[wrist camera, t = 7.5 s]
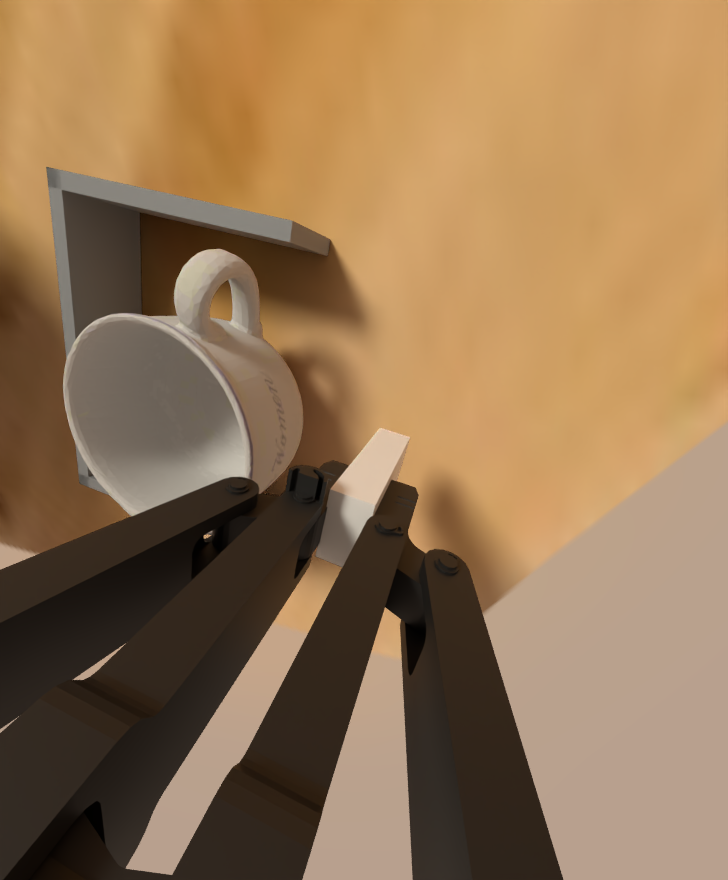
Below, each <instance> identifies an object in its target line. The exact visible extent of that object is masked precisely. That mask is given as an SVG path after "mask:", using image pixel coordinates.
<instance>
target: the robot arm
mask: <svg viewBox="0 0 728 880" xmlns="http://www.w3.org/2000/svg"><path fill="white" fill-rule="evenodd" d="M409 439H410V437H408V436H404V435H401V434H398V433H395V432H392V431H389V430H386V429H383V428H379V430H378V431H377V432H376V433H375V434H374V436H373V437H372V438H371V439H370V441H369V442H368V443H367V444H366V446H365V447H364V448H363V449H362V451H361V452H360V453H359V454H358V455H357V457H356V458H355V459H354V460H353V462H352V463H351V464H350V465H349V466H348V465H345V464H342V463H339V462H337V461H334V460H333V461H330V462H327V463H324V464H323V465H322V466H321V467H320V468H319V469H318V468H316V467H312V466H304V465H300V466H294V467H292V468H290V469H289V473H288V479H287V485H286V491H285V492H284V493H283V494H282V495H281V496H271V495H264V494H259V486H258V484H257V483H256V482H255V481H253V480H251V479H248V478H245V477H229V478H225V479H222V480H220V481H217V482H215V483H212V484H210V485H207V486H205V487H202V488H200V489H198V490H195V491H193V492H190V493H188V494H185V495H183V496H180V497H178V498H175V499H173V500H171V501H168V502H166V503H163V504H161V505H158V506H156V507H153V508H151V509H148V510H146V511H144V512H141V513H139V514H136V515H134V516H131V517H129V518H126V519H124V520H121V521H119V522H117V523H114V524H112V525H109V526H107V527H104V528H102V529H99V530H97V531H94V532H92V533H90V534H87V535H85V536H82V537H80V538H77V539H75V540H72V541H70V542H67V543H65V544H63V545H60V546H58V547H55V548H53V549H50V550H48V551H45V552H43V553H40V554H38V555H35V556H33V557H31V558H28V559H26V560H23V561H21V562H19V563H16V564H13V565H11V566H9V567H6V568H4V569H1V570H0V729H1V728H2V727H4V726H5V725H7V724H8V723H10V722H11V721H13V720H14V719H16V718H17V717H18V716H19V717H18V718H17V719H16V720H15V721H14V722H12V723H11V724H10V725H9V726H8V727H7V728H6V729H5V730H4V731H2V732H1V733H0V880H302V879H303V875H304V872H305V869H306V865H307V862H308V859H309V856H310V852H311V849H312V846H313V842H314V839H315V836H316V832H317V829H318V826H319V822H320V819H321V815H322V811H323V807H324V804H325V800H326V797H327V794H328V790H329V787H330V784H331V781H332V777H333V774H334V771H335V768H336V764H337V761H338V758H339V755H340V751H341V748H342V745H343V741H344V738H345V734H346V731H347V729H348V725H349V722H350V719H351V715H352V712H353V709H354V706H355V702H356V699H357V696H358V693H359V690H360V686H361V683H362V680H363V676H364V673H365V670H366V666H367V663H368V660H369V657H370V654H371V650H372V647H373V644H374V641H375V637H376V634H377V631H378V628H379V624H380V621H381V618H382V615H383V611H384V608H385V607H386V608H387V609H388V610H390V611H391V612H392V613H394V614H395V615H396V616H398V617H399V618H400V619H401V623H400V632H401V652H402V671H403V692H404V712H405V732H406V753H407V773H408V792H409V813H410V833H411V853H412V873H413V880H563V877H562V874H561V871H560V867H559V864H558V861H557V858H556V854H555V851H554V848H553V844H552V841H551V838H550V835H549V831H548V828H547V824H546V821H545V818H544V815H543V811H542V808H541V805H540V802H539V798H538V795H537V792H536V788H535V785H534V782H533V778H532V775H531V772H530V769H529V766H528V762H527V759H526V756H525V752H524V749H523V746H522V742H521V739H520V736H519V732H518V729H517V726H516V723H515V719H514V716H513V713H512V710H511V706H510V703H509V700H508V696H507V693H506V690H505V687H504V683H503V680H502V677H501V673H500V670H499V667H498V663H497V660H496V657H495V654H494V650H493V647H492V644H491V640H490V637H489V634H488V630H487V627H486V624H485V621H484V617H483V614H482V611H481V607H480V604H479V601H478V598H477V594H476V591H475V588H474V584H473V581H472V578H471V575H470V571H469V569H468V567H467V565H466V563H465V562H464V561H463V560H462V559H460V558H459V557H458V556H456V555H455V554H453V553H451V552H448V551H445V550H439V549H434V550H430V551H428V552H427V553H424V552H423V551H421V550H420V549H418V548H417V547H416V546H415V545H414V544H413V543H412V542H411V540H410V539H409V536H408V529H409V525H410V522H411V519H412V516H413V512H414V509H415V506H416V502H417V499H418V496H419V495H418V493H417V490H416V488H415V487H412V486H409V485H406V484H403V483H400V482H397V479H398V476H399V473H400V469H401V466H402V463H403V459H404V456H405V453H406V449H407V446H408V443H409ZM211 531H212V536H210V537H208V538H206V539H204V535H205V534H207V533H209V532H211ZM317 546H318V547H317ZM316 547H317V551H316V556H315V557H318V558H320V559H323V560H325V561H328V562H331V563H333V564H336V565H338V566H341V567H342V569H341V571H340V573H339V575H338V577H337V579H336V581H335V583H334V585H333V587H332V589H331V590H330V592H329V594H328V596H327V598H326V600H325V602H324V604H323V606H322V608H321V610H320V612H319V613H318V615H317V617H316V619H315V621H314V623H313V625H312V627H311V629H310V631H309V633H308V635H307V637H306V638H305V640H304V643H303V645H302V646H301V648H300V650H299V652H298V654H297V656H296V658H295V660H294V662H293V663H292V666H291V667H290V669H289V671H288V673H287V675H286V677H285V679H284V681H283V683H282V685H281V687H280V688H279V691H278V692H277V694H276V696H275V698H274V700H273V702H272V704H271V706H270V708H269V710H268V712H267V713H266V715H265V717H264V719H263V721H262V723H261V725H260V727H259V729H258V731H257V733H256V735H255V737H254V739H253V740H252V742H251V744H250V746H249V748H248V750H247V752H246V754H245V755H244V757H243V758H242V760H241V761H240V763H238V764H237V765H235V766H234V767H233V768H232V769H231V770H230V772H229V773H228V775H227V776H226V778H225V779H224V781H223V783H222V784H221V787H220V788H219V790H218V791H217V793H216V795H215V797H214V798H213V801H212V802H211V804H210V806H209V808H208V810H207V811H206V813H205V815H204V817H203V819H202V821H201V823H200V825H199V827H198V828H197V830H196V832H195V834H194V836H193V837H192V839H191V841H190V843H189V845H188V847H187V849H186V850H185V853H184V854H183V856H182V858H181V860H180V862H179V863H178V865H177V867H176V869H175V871H174V873H173V875H166V874H160V873H152V872H145V871H137V870H130V869H125V868H126V866H127V864H128V863H129V861H130V859H131V857H132V856H133V854H134V852H135V850H136V849H137V847H138V845H139V843H140V841H141V839H142V837H143V835H144V833H145V831H146V828H147V826H148V823H149V821H150V818H151V816H152V813H153V811H154V809H155V807H156V805H157V803H158V801H159V799H160V798H161V796H162V794H163V792H164V791H165V789H166V788H167V786H168V785H169V783H170V782H171V780H172V778H173V777H174V775H175V774H176V772H177V771H178V769H179V767H180V766H181V764H182V763H183V761H184V760H185V758H186V757H187V755H188V754H189V752H190V750H191V749H192V747H193V746H194V744H195V743H196V741H197V739H198V738H199V736H200V735H201V733H202V732H203V730H204V729H205V727H206V726H207V724H208V722H209V721H210V719H211V718H212V716H213V715H214V713H215V712H216V710H217V708H218V707H219V705H220V704H221V702H222V701H223V699H224V698H225V696H226V695H227V693H228V691H229V690H230V688H231V686H232V685H233V684H234V682H235V681H236V679H237V677H238V676H239V674H240V673H241V671H242V669H243V668H244V667H245V665H246V663H247V662H248V660H249V659H250V657H251V656H252V654H253V653H254V651H255V649H256V648H257V646H258V645H259V643H260V642H261V640H262V638H263V637H264V635H265V634H266V632H267V631H268V629H269V628H270V626H271V625H272V623H273V622H274V620H275V618H276V617H277V615H278V614H279V612H280V611H281V609H282V608H283V606H284V604H285V603H286V601H287V600H288V598H289V597H290V595H291V594H292V592H293V590H294V589H295V587H296V586H297V584H298V583H299V581H300V580H301V578H302V576H303V575H304V573H305V572H306V570H307V569H308V567H309V565H310V562H311V557H312V553H313V552H314V550H315V549H316ZM125 643H126V644H125ZM124 644H125V645H124ZM122 645H124V646H123V647H122V648H121V649H120V650H119V651H118V652H117V653H116V654H115V655H114V656H113V657H111V659H109V660H108V661H107V662H106V663H105V664H104V665H103V666H102V667H101V668H100V669H99V670H98V671H97V672H95V673H94V674H93V675H92V676H91V677H89V678H87V679H84V680H73V679H74V678H75V677H77V676H78V675H80V674H81V673H83V672H84V671H86V670H87V669H89V668H90V667H91V666H93V665H95V664H96V663H97V662H99V661H100V660H102V659H103V658H105V657H106V656H108V655H109V654H111V653H112V652H113V651H115V650H116V649H118V648H119V647H120V646H122Z"/></svg>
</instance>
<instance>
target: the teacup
mask: <svg viewBox="0 0 728 880" xmlns="http://www.w3.org/2000/svg"><path fill="white" fill-rule="evenodd" d="M227 280H229V283H230V287H231V293H232V306H233V311H232V320H231V321H227V320H222V319H217V318H210V315H209V311H210V306H211V301H212V299H213V297H214V294H215V293H216V291H217V290H218V288H219V287H220V286H221V285H222V284H223V283H224V282H226V281H227ZM174 304H175V308H176V313H177V316H146V315H140V314H133V313H118V314H111V315H108V316H105V317H102V318H100V319H97V320H95V321H94V322H92V323H91V324H90V325H88V326H87V327H86V328H85V329H84V330H83V331H82V332H81V333H80V335H79V336H78V337H77V339H76V340H75V342H74V344H73V345H72V348H71V351H70V352H69V354H68V356H67V360H66V364H65V369H64V378H63V394H64V403H65V410H66V413H67V419H68V423H69V427H70V430H71V433H72V435H73V438H74V441H75V443H76V445H77V448H78V450H79V452H80V454H81V456H82V458H83V460H84V461H85V463H86V464H87V466H88V468H89V470H90V471H91V472H92V474H93V475H94V477H95V478H96V479H97V481H98V482H99V484H100V485H101V486H102V487H103V488H104V489H105V490H106V491H107V492H108V494H109V495H110V496H111V497H112V498H113V499H114V500H115V501H116V502H117V503H119V504H120V506H121V507H122V508H123V509H124V510H125V511H126V512H127V513H128V514H129V515H131V516H134V515H136V514H139V513H141V512H144V511H146V510H148V509H151V508H153V507H156V506H158V505H161V504H163V503H166V502H168V501H171V500H173V499H175V498H178V497H180V496H183V495H185V494H188V493H190V492H193V491H195V490H198V489H200V488H202V487H205V486H207V485H210V484H212V483H215V482H217V481H220V480H222V479H225V478H229V477H245V478H248V479H251V480H253V481H255V482H256V483H257V484H258V486H259V494H261V493H262V492H263V491H264V490H265V489H267V488H268V487H269V486H270V485H271V484H272V483H273V482H274V481H275V480H276V479H277V478H278V477H279V476H280V475H281V474H282V473H283V472H284V471H285V470H286V468H287V467H288V466H289V464H290V463H291V461H292V459H293V458H294V456H295V454H296V451H297V449H298V447H299V444H300V440H301V436H302V430H303V406H302V400H301V395H300V392H299V389H298V386H297V383H296V381H295V378H294V376H293V374H292V372H291V371H290V369H289V367H288V366H287V364H286V362H285V361H284V359H283V358H282V357H281V356H280V354H279V353H278V352H277V351H276V350H275V349H274V348H273V347H272V346H271V345H270V344H269V343H268V342H267V341H266V340H264V339H263V336H262V333H263V329H262V324H261V323H260V321H259V319H260V299H259V288H258V283H257V279H256V277H255V275H254V272H253V271H252V269H251V267H250V266H249V265H248V264H247V263H246V262H245V261H244V260H242V259H241V258H239V257H238V256H236V255H234V254H232V253H229V252H227V251H225V250H222V249H208V250H204V251H202V252H199V253H197V254H196V255H195V256H193V257H192V258H191V259H190V260H189V261H188V262H187V263H186V264H185V265H184V266H183V268H182V270H181V272H180V274H179V276H178V278H177V281H176V285H175V290H174ZM209 533H212V531H211V532H209ZM209 533H207V534H209ZM205 535H206V534H205Z"/></svg>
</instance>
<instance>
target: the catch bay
mask: <svg viewBox="0 0 728 880" xmlns="http://www.w3.org/2000/svg"><path fill="white" fill-rule="evenodd" d="M46 168H47V178H48V187H49V197H50V206H51V216H52V225H53V235H54V245H55V254H56V264H57V273H58V283H59V292H60V302H61V311H62V321H63V331H64V340H65V350H66V359H67V356H68V354H69V352H70V351H71V348H72V345H73V344H74V342H75V340H76V339H77V337H78V336H79V335H80V333H81V332H82V331H83V330H84V329H85V328H86V327H87V326H88V325H90V324H91V323H92V322H94V321H95V320H97V319H100V318H102V317H105V316H108V315H111V314H118V313H133V314H140V315H142V298H141V251H140V213H145V214H149V215H153V216H157V217H162V218H166V219H170V220H175V221H179V222H183V223H188V224H192V225H196V226H200V227H205V228H209V229H213V230H218V231H222V232H226V233H231V234H235V235H239V236H243V237H248V238H252V239H256V240H261V241H265V242H269V243H273V244H278V245H282V246H286V247H291V248H295V249H299V250H304V251H308V252H312V253H316V254H321V255H325V256H328V251H329V245H330V239H328V238H326V237H324V236H322V235H320V234H318V233H316V232H314V231H312V230H310V229H308V228H306V227H304V226H302V225H300V224H298V223H296V222H294V221H291V220H287V219H282V218H277V217H273V216H268V215H264V214H259V213H255V212H250V211H245V210H241V209H236V208H232V207H227V206H223V205H218V204H214V203H209V202H204V201H200V200H195V199H191V198H186V197H182V196H177V195H172V194H168V193H163V192H159V191H154V190H150V189H145V188H141V187H136V186H131V185H127V184H122V183H118V182H113V181H109V180H104V179H99V178H95V177H90V176H86V175H81V174H77V173H72V172H68V171H63V170H58V169H54V168H49V167H46ZM75 445H76V443H75ZM76 455H77V464H78V474H79V483H80V484H82V485H85V486H87V487H90V488H92V489H95V490H97V491H100V492H102V493H105V494H107V495H109V494H108V492H107V491H106V490H105V489H104V488H103V487H102V486H101V485H100V484H99V482H98V481H97V479H96V478H95V477H94V475H93V474H92V472H91V471H90V470H89V468H88V466H87V464H86V463H85V461H84V460H83V458H82V456H81V454H80V452H79V450H78V448H77V445H76ZM209 535H212V533H209Z"/></svg>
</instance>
